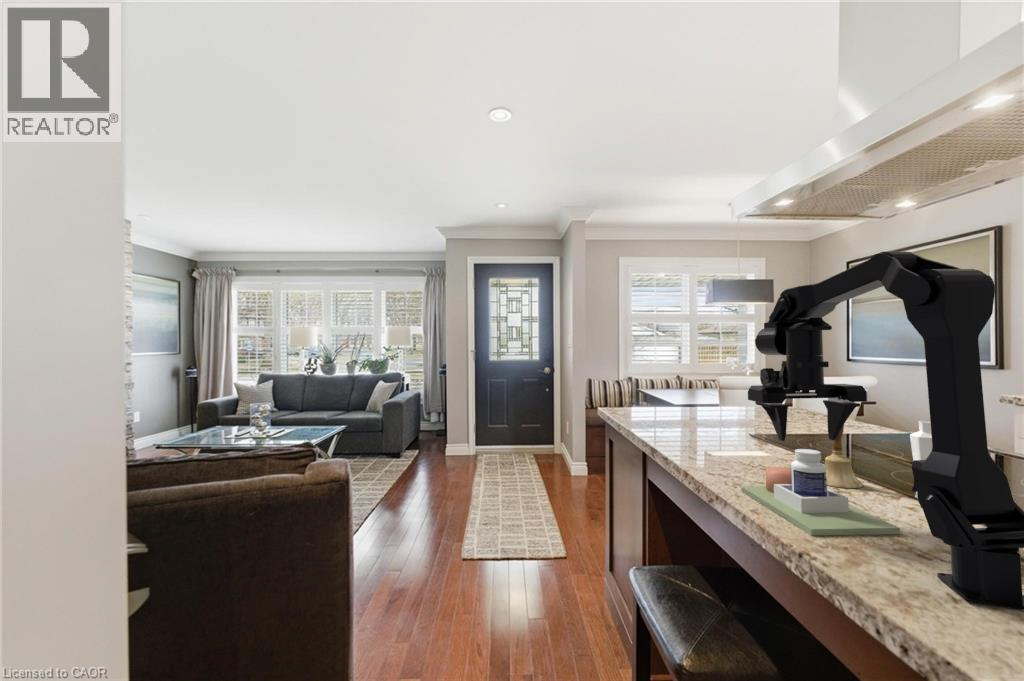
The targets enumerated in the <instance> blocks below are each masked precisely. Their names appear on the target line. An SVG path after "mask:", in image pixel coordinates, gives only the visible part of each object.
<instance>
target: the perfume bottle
mask: <svg viewBox="0 0 1024 681" xmlns="http://www.w3.org/2000/svg"><path fill="white" fill-rule="evenodd" d="M917 422H918V429H919V430H918V431H915V432H913V433H910V434H909V438H910V447H911V454H912V459H913V460H912V462H913V461H914V460H926V459H927V457H928V456H929V454H930V453H931V451H932V435H931V423H930V420H929V421H928V420H918V421H917ZM914 495H915V496H914V498H916V499H918V497H917V492H915V494H914Z"/></svg>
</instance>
